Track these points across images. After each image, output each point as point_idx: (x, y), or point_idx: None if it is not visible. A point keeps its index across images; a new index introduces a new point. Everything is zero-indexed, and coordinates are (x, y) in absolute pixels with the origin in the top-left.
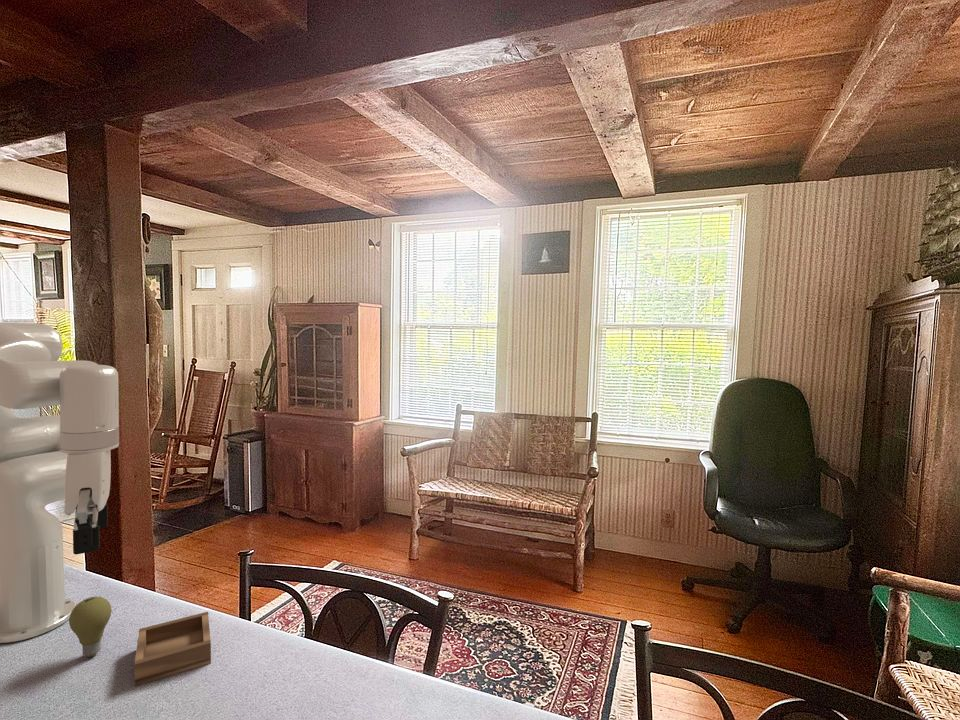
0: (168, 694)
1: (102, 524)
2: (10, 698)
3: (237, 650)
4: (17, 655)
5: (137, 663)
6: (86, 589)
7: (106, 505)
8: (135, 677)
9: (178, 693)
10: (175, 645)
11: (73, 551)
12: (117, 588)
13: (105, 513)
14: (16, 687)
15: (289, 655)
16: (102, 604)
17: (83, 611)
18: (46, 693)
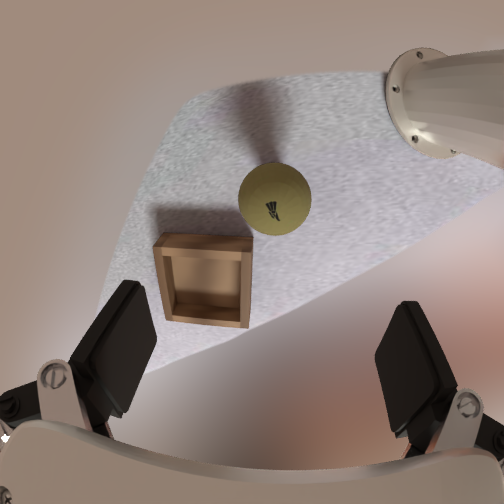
0: (135, 263)
1: (380, 359)
2: (217, 90)
3: (186, 325)
4: (343, 81)
5: (153, 250)
6: (482, 175)
7: (401, 436)
8: (159, 238)
9: (133, 271)
10: (217, 280)
11: (120, 284)
12: (459, 212)
13: (386, 406)
14: (243, 91)
15: (158, 353)
16: (259, 228)
17: (246, 196)
18: (202, 132)
